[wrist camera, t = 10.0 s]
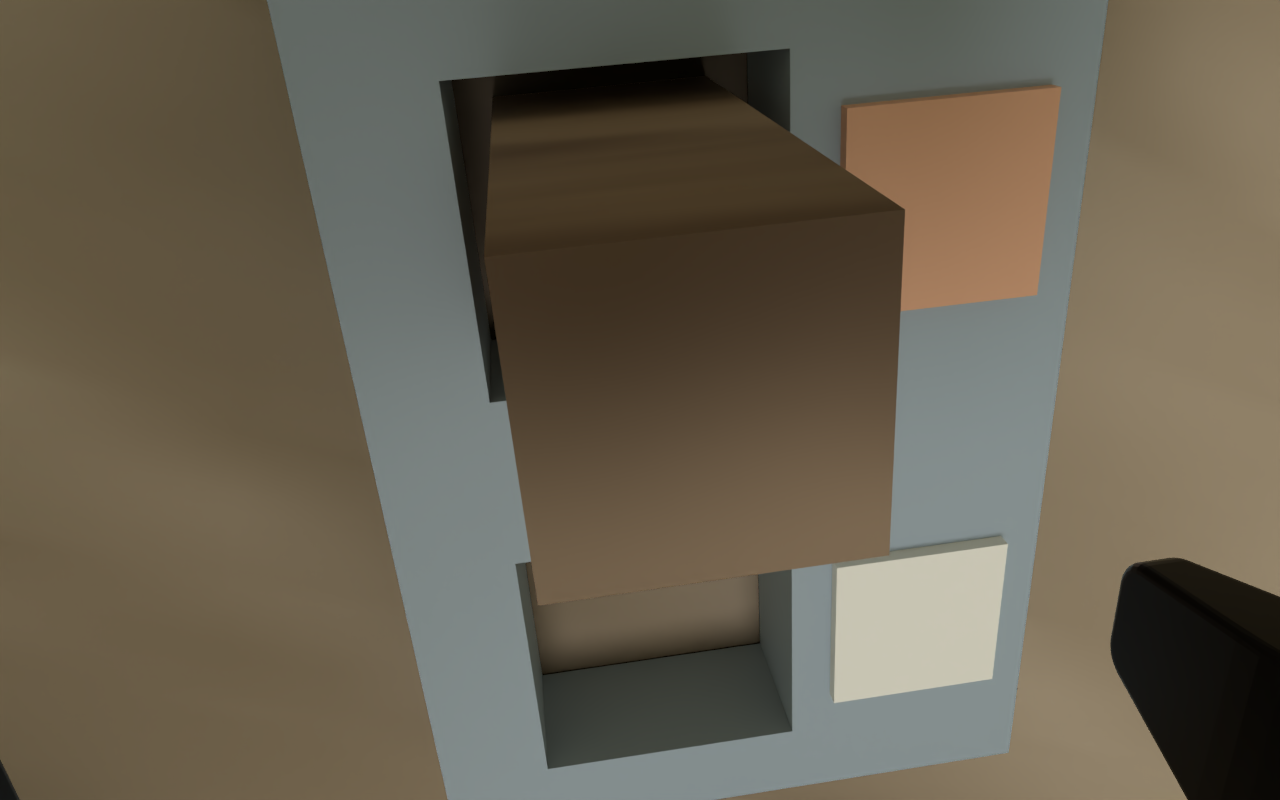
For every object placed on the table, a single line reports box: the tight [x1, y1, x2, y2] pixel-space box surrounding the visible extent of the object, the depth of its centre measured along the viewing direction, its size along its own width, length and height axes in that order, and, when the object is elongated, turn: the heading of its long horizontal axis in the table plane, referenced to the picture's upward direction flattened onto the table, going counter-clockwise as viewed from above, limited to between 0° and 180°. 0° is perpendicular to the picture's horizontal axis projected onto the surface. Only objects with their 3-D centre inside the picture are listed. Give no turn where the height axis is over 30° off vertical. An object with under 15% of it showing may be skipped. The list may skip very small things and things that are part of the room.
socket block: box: [267, 0, 1108, 800], centre depth 19 cm, size 18×13×3 cm
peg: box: [484, 76, 905, 606], centre depth 14 cm, size 4×4×10 cm
